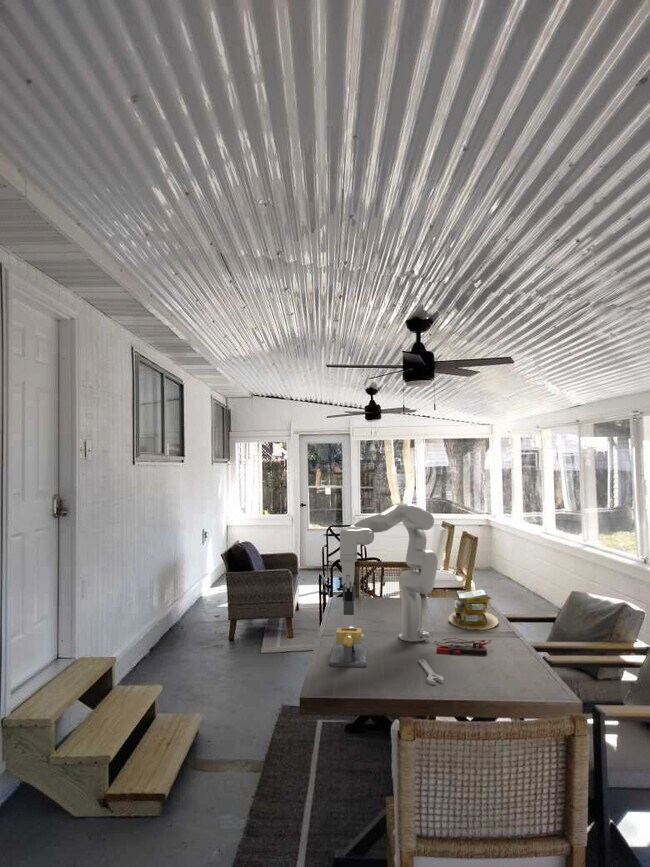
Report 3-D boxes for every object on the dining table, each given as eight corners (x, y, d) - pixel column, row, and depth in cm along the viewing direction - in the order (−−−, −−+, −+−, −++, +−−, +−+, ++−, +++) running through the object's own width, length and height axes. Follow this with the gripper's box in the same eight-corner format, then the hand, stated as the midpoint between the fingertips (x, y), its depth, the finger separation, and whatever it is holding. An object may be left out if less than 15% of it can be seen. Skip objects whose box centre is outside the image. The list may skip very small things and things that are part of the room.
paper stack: (497, 631, 271) (496, 597, 273) (446, 627, 279) (445, 594, 281) (498, 619, 295) (497, 587, 296) (451, 615, 303) (451, 584, 304)
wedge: (342, 613, 239) (342, 585, 240) (354, 613, 238) (354, 585, 239) (342, 614, 237) (342, 586, 238) (354, 615, 236) (354, 586, 237)
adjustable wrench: (418, 662, 229) (418, 658, 229) (433, 663, 229) (433, 658, 229) (428, 685, 204) (428, 680, 205) (445, 685, 204) (445, 680, 204)
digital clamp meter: (495, 647, 234) (435, 644, 239) (495, 658, 234) (435, 655, 239) (488, 631, 257) (434, 629, 262) (488, 641, 257) (434, 639, 262)
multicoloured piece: (334, 646, 249) (333, 621, 250) (367, 647, 248) (366, 622, 248) (329, 665, 225) (329, 638, 225) (366, 667, 223) (365, 638, 224)
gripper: (341, 554, 248) (341, 596, 246) (338, 560, 232) (338, 604, 230) (357, 554, 247) (358, 596, 245) (356, 560, 231) (356, 605, 230)
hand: (348, 600), depth 238 cm, fingers closed on wedge, 2 cm apart
